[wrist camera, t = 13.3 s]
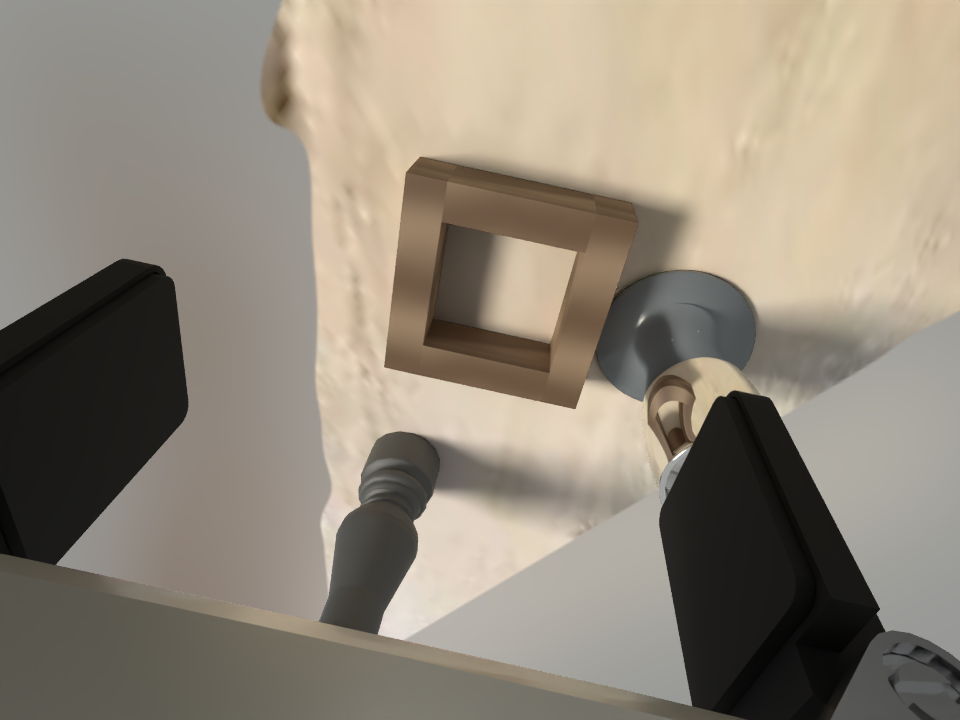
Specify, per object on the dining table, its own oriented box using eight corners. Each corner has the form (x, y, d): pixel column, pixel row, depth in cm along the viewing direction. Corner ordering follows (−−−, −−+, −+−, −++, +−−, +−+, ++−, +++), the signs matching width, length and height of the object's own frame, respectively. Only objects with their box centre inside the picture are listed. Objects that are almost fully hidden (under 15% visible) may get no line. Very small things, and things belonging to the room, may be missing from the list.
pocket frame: (419, 157, 38) (405, 172, 35) (631, 203, 38) (638, 223, 34) (397, 339, 45) (384, 367, 42) (574, 378, 45) (575, 409, 42)
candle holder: (416, 422, 49) (308, 738, 28) (452, 473, 52) (378, 798, 31) (357, 444, 52) (216, 754, 30) (395, 492, 54) (289, 809, 33)
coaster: (622, 254, 40) (622, 256, 39) (781, 289, 40) (783, 291, 39) (578, 385, 46) (578, 387, 45) (717, 415, 46) (718, 418, 45)
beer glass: (744, 354, 42) (822, 507, 29) (655, 395, 45) (692, 552, 32) (700, 279, 40) (765, 411, 27) (608, 328, 42) (629, 469, 30)
